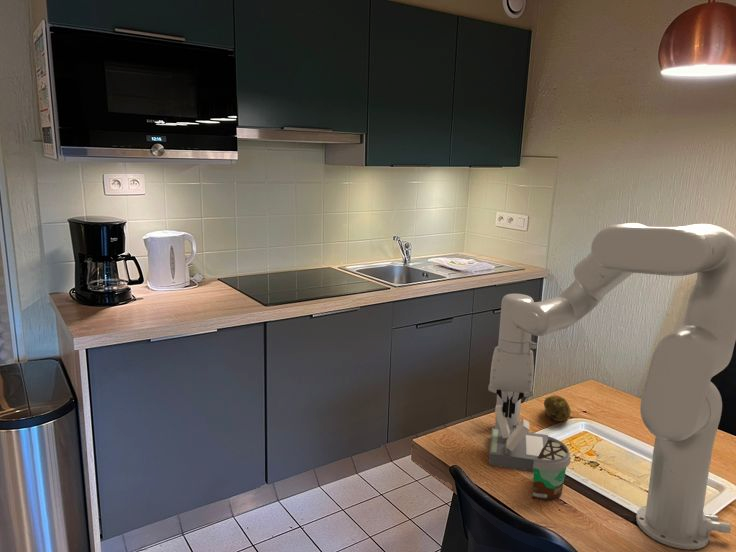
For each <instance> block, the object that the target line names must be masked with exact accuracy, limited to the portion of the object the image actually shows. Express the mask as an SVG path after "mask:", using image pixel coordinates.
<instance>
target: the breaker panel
mask: <svg viewBox="0 0 736 552" xmlns="http://www.w3.org/2000/svg"><path fill="white" fill-rule="evenodd" d="M512 433H513V430H510V435H511V434H512ZM490 435H491V436H490V444H489V457H488V466H494V467H500V468H507V469H514V470H521V471H528V472H534V468H533V464H534V458H538V456H539V454H540V452H541V450H542V448H543V447H544V446H545V445H546V443H547V441H548V436H549V434H543V433H535V432H529V431H528V432H527V434H526V435H525V436H524V437H523V439H522V440H521V441H520V442H519V444H518V445H517V446H516V447H515V449H514V450H513V451H511V450H509V454H508V455H506V454H505V444H506V442H505V441H506V438H503V437H502V433H501V430H500V429H497V428H495V427H491V433H490Z"/></svg>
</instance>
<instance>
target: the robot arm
mask: <svg viewBox="0 0 736 552" xmlns="http://www.w3.org/2000/svg"><path fill="white" fill-rule="evenodd" d="M590 250H591V252H589V253H588V254H587V255H586V256H585V257H584V258H582V259H581V260H580V261H578V263H577V264H575V266H574V268H573V276H574V279H575V280H574V281H573V282H571V284H570V285H569V286H568V287H566V288H565V289H564V290H563V291H562V292H561V293H560V294H558V295H557V296H555V297H553V298H549V299H545V300H541V301H534V299H533V297H531V296H530V295H527V294H522V293H508V294H505V295H504V296H503V297H502V299H501V307H500V318H499V319H500V320H499V330H498V331H499V332H498V333H499V334H498V342H497V343H498V345H497V346H495V347H494V351H493V354H492V359H491V366H490V372H489V374H490V375H489V377H490V378H489V384H488V387H487V390H488V391H489V392H491V393H494V394H496V395H497V394H498V396H499V397H500V398H501V399H502V401H503V410H502V411H503V412H504V413H505V417H506V418H507V417H508V410H509V418H511V417H512V414H515V404H516V403H517V401H519V400H520V399H521V400H522V399H523V398H531V397H533V396H534V391H533V387H534V373H535V370H534V368H535V367H534V366H535V364H534V363H535V362H534V360H535V359H534V352H533V350H532V349H537V348H538V342H534V341H533V340H532V335H533V336H536V337H544V336H547V335H551V334H553V333H556V332H560V331H562V330H566V329H568V328H570V327H571V326H573V325H575V324H576V323H578V321H579V320H581V319H583V318H585V316H587V314H589V313H590V312H592V311H593V310H594V309H595V308H597V306H598V305H599V304H600V303H601V301H603V299H604V298H605V296H606V295H608V293H609V294H610V292H611V291H613V290H614V289H615V288H616V287H617V286H619V285H620V284H622V283H623V282H624V281H625V280H626V279H628V278H629V277H630V276H631V275H633V274H644V275H657V276H669V277H670V276H671V277H682V276H683V277H685V276H690V275H693V274H696V281H695V283H694V286H693V287H692V290H691V292H690V295H689V297H688V301H687V304H686V305H687V307H686V310H685V313H684V318H683V320H682V323H681V325H680V326H679V328H677V329H676V330H674V331H671V332H670V333H667V334H666V335H665V336H663V337H662V339H661V340H659V342H658V343H657V345H656V347H655V348H654V351H653V354H652V357H651V359H650V364H649V367H648V371H647V375H646V379H645V382H644V387H643V391H642V396H641V400H640V406H639V409H640V416H641V420H642V422H643V424H644V426H645V429H647V430H648V431H649V432H650V433H651V434H652V435H653V436H654V437H655V439H654V445H653V450H652V457H651V467H650V474H649V475H650V476H649V482H648V483H649V484H648V491H647V492H648V493H647V500H646V505H645V506H641V507H640V508H639V509H638V510H637V511H636V519H635V520H636V523H637V525H638V527H639V528H640V529H641V530H642V532H644V533H645V534H646V535H647V536H649V538H651V539H653V540H655V541H657V542H659V543H660V544H664V545H666V546H669V547H672V548H675V549H680V550H699V549H702V548H704V547H706V546H707V545H708V543H709V540H710V533H712V531H714V532H717V533H724V534H731V531H732V529H731V528H732V527H731V524H730V522H727V521H720V520H719V517H718V516H719V515H717V514H716V515H715V514H712V513H711V514H710V513H709V514H708V513H705V512H704V506H705V500H706V495H707V487H708V480H709V474H710V467H711V462H712V456H713V449H714V444H715V440H716V436H717V432H718V428H719V425H720V421H721V416H722V413H723V412H722V411H723V401H722V396H721V393H720V390H718V388H717V386H716V385H715V384H714V383H713V382H712V381H711V380H712V378H713V377H714V376H716V375H718V374H719V373H720V372H722V371H724V370H725V369H726V368H727V367H728V366H729V364H730V362H731V360H732V357H733V354H734V353H733V352H734V348H735V344H736V235H734V234H733V233H731V231H729V230H727V229H725V228H723V227H721V226H719V225H716V224H711V223H695V224H693V223H692V224H688V225H683V226H682V225H681V226H647V225H645V224H643V223H638V222H626V223H619V224H612V225H608V226H606V227H603V228H602V229H601V230H599V232H597V234H596V235H595V237H594V238H593V240H592V242H591V249H590ZM507 391H513V395H512V397H511V399H510V404H509V397H508V396H507Z"/></svg>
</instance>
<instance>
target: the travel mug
mask: <svg viewBox="0 0 736 552" xmlns="http://www.w3.org/2000/svg"><path fill="white" fill-rule="evenodd" d="M512 395H513V391H507V396H508V397H509V404H510V399H511V397H512ZM498 405H502V407H503V401H502V399H501V398H500V397H499V396H498V394H497V393H496V405H495V407H496V406H498ZM521 406H522V398H521V399H520V400H519V401H517V403H516V404H515V414H512V417H511V418H509V410H508V417H507V418H506V420H507V423H508V426H509V430H513V431H514V430H515V429H516V428H517V426H518V425H519V424H520V422H521V421H520V420H521V419H520V418H521ZM494 421H495V422H494V423H495V424H494V428H497V429H500V427H499V424H498V420H497V417H496V416H495V419H494Z"/></svg>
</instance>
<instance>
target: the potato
mask: <svg viewBox="0 0 736 552" xmlns="http://www.w3.org/2000/svg"><path fill="white" fill-rule="evenodd" d="M543 406H544V409H545V413H546V414H547V415H548V418H549V419H550V420H554V421H556V422H565V421H567V420H568V419H569V417H570V416H571V415H572V414H571V413H572V410H571V407H570V404H569V403H568V401H567V400H566V399H565V398H563V397H561V396H559V395H555V394H554V395H550V396H547V397H546V398H545V399H544V402H543Z"/></svg>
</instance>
